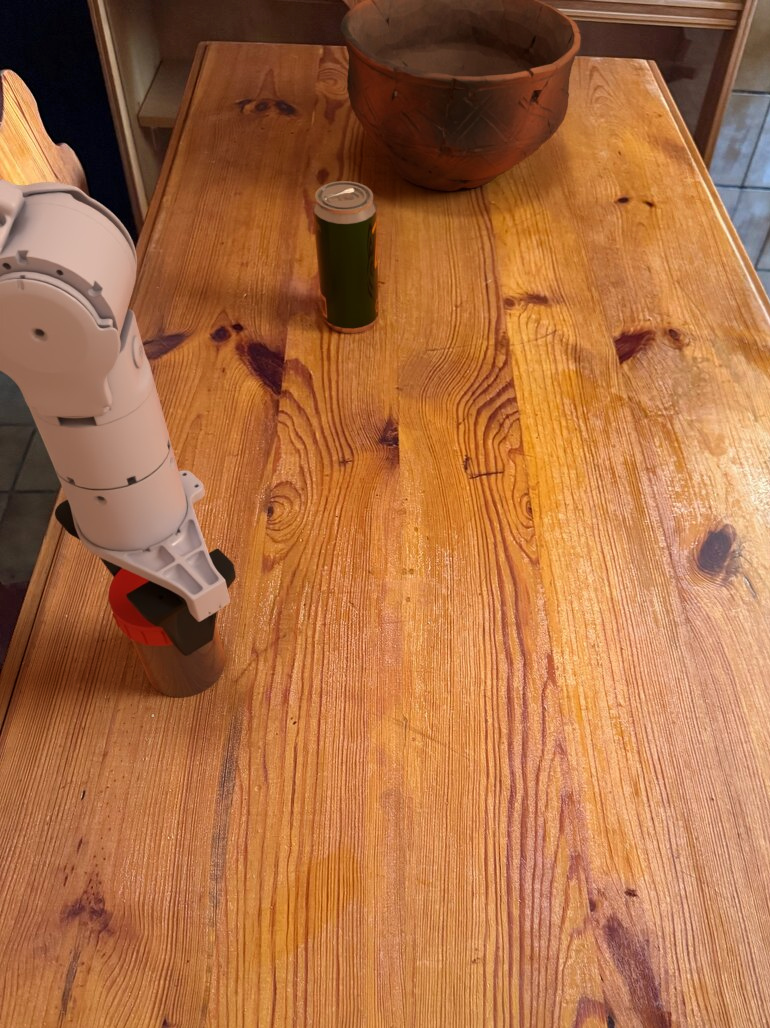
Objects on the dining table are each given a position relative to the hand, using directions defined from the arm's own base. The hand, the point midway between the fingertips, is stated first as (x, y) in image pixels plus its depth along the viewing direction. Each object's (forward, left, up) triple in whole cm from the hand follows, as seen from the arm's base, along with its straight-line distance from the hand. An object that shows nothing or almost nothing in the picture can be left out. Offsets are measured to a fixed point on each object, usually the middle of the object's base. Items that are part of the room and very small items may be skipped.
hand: (168, 613), depth 55 cm
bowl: (+16, +70, -6) cm, 72 cm away
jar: (0, 0, -6) cm, 6 cm away
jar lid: (0, 0, +2) cm, 2 cm away
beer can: (+7, +40, -6) cm, 41 cm away
